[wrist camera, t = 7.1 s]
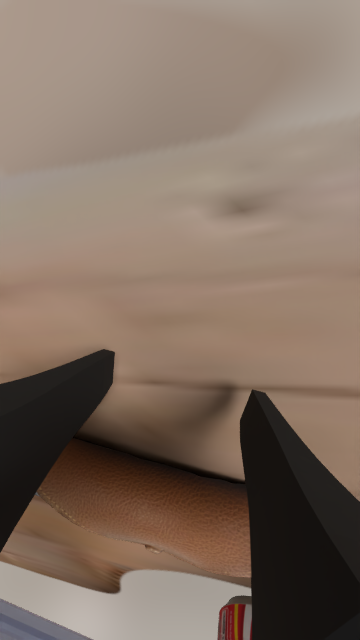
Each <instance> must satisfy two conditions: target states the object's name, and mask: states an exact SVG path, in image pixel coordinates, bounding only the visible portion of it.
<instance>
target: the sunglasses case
mask: <svg viewBox="0 0 360 640" xmlns="http://www.w3.org/2000/svg"><path fill="white" fill-rule="evenodd" d="M37 493H38V495H39V496H40V497H41V498H42V499H43V500H45V501H46V502H47V503H48V504H49V505H51V507H52V508H54V509H55V510H56V511H57V512H58V513H60V514H61V515H62V516H64V517H65V518H67V519H68V520H70V521H71V522H72V523H74V524H76V525H78V526H80V527H82V528H84V529H86V530H88V531H90V532H93V533H95V534H98V535H100V536H104V537H107V538H110V539H115V540H122V541H128V542H133V543H138V544H143V545H145V547H146V550H148V551H151V552H153V553H156V554H159V553H161V552H162V551H164V552H166V553H168V554H170V555H173V556H174V557H176V558H178V559H180V560H183V561H185V562H188V563H190V564H192V565H194V566H197V567H199V568H201V569H203V570H206V571H209V572H213V573H216V574H222V575H228V576H233V577H251V551H250V526H249V507H248V497H247V489H246V485H244V484H237V483H236V484H232V483H229V482H227V481H225V480H220V479H213V478H205V477H199V476H197V475H195V474H193V473H190V472H187V471H183V470H180V469H177V468H174V467H171V466H167V465H164V464H160V463H156V462H152V461H147V460H143V459H139V458H136V457H134V456H132V455H129V454H126V453H123V452H120V451H116V450H112V449H108V448H105V447H101V446H98V445H95V444H91V443H88V442H85V441H82V440H78V439H75V438H72V439H71V440H70V442H69V443H68V444H67V446H66V447H65V449H64V450H63V452H62V453H61V455H60V456H59V458H58V459H57V461H56V462H55V464H54V465H53V467H52V468H51V470H50V471H49V473H48V474H47V476H46V478H45V479H44V481H43V482H42V484H41V485H40V487H39V489H38V490H37Z"/></svg>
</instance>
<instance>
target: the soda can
mask: <svg viewBox="0 0 360 640" xmlns="http://www.w3.org/2000/svg"><path fill="white" fill-rule="evenodd" d="M218 640H252V597H251V596H235V597H233V598H231V599H230V600H229V602H228V603H227V604H226V605H225V606H223V607H222V608H221V610H220V612H219V625H218Z"/></svg>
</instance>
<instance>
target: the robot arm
mask: <svg viewBox="0 0 360 640" xmlns="http://www.w3.org/2000/svg"><path fill="white" fill-rule="evenodd" d="M114 356H115V352H113V351H109V350H105V349H103V350H100V351H98V352H95V353H92V354H90V355H87V356H85V357H83V358H80V359H77V360H75V361H72V362H70V363H67V364H65V365H62V366H59V367H56V368H54V369H51V370H48V371H45V372H42V373H39V374H36V375H33V376H29V377H26V378H22V379H19V380H15V381H11V382H7V383H3V384H0V552H1V551H2V549H3V547H4V545H5V544H6V542H7V540H8V538H9V537H10V535H11V533H12V531H13V530H14V528H15V526H16V525H17V523H18V521H19V520H20V518H21V516H22V515H23V513H24V511H25V510H26V508H27V506H28V505H29V503H30V501H31V500H32V498H33V497H34V495H35V493H36V492H37V490H38V489H39V487H40V485H41V484H42V482H43V481H44V479H45V478H46V476H47V474H48V473H49V471H50V470H51V468H52V467H53V465H54V464H55V462H56V461H57V459H58V458H59V456H60V455H61V453H62V452H63V450H64V449H65V447H66V446H67V444H68V443H69V442H70V440H71V439H72V438H73V436H74V435H75V434H76V433H77V431H78V430H79V429H80V428H81V426H82V425H83V424H84V423H85V421H86V420H87V419H88V418H89V416H90V415H91V414H92V413H93V411H94V410H95V409H96V408H97V406H98V405H99V404H100V402H101V401H102V400H103V398H104V397H105V395H106V393H107V392H108V390H109V388H110V387H111V385H112V383H113V369H114ZM240 443H241V452H242V459H243V467H244V474H245V482H246V489H247V497H248V507H249V526H250V551H251V591H252V640H360V502H359V501H358V500H357V499H356V498H355V497H354V496H353V495H352V494H351V493H350V492H349V491H348V490H347V489H346V488H345V487H344V486H343V485H342V484H341V483H340V482H339V481H338V480H337V479H336V478H335V477H334V476H333V475H332V474H331V473H330V472H329V471H328V469H327V468H326V467H325V466H324V465H323V464H322V463H321V462H320V461H319V460H318V459H317V458H316V456H315V455H314V454H313V453H312V452H311V451H310V449H309V448H308V447H307V446H306V445H305V444H304V442H303V441H302V440H301V439H300V438H299V436H298V435H297V434H296V433H295V431H294V430H293V429H292V428H291V426H290V425H289V424H288V422H287V421H286V420H285V419H284V417H283V416H282V415H281V413H280V412H279V411H278V409H277V408H276V407H275V405H274V404H273V403H272V401H271V400H270V399H269V397H268V396H267V395H266V393H264V392H260V391H256V390H253V389H252V391H251V394H250V396H249V399H248V402H247V404H246V407H245V409H244V412H243V414H242V417H241V419H240ZM0 640H92V639H90V638H88V637H86V636H83V635H81V634H79V633H77V632H75V631H72V630H70V629H68V628H66V627H63V626H61V625H59V624H56V623H54V622H52V621H50V620H47V619H45V618H43V617H41V616H38V615H36V614H34V613H32V612H29V611H27V610H25V609H22V608H20V607H18V606H16V605H14V604H11V603H9V602H7V601H4V600H2V599H0Z"/></svg>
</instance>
